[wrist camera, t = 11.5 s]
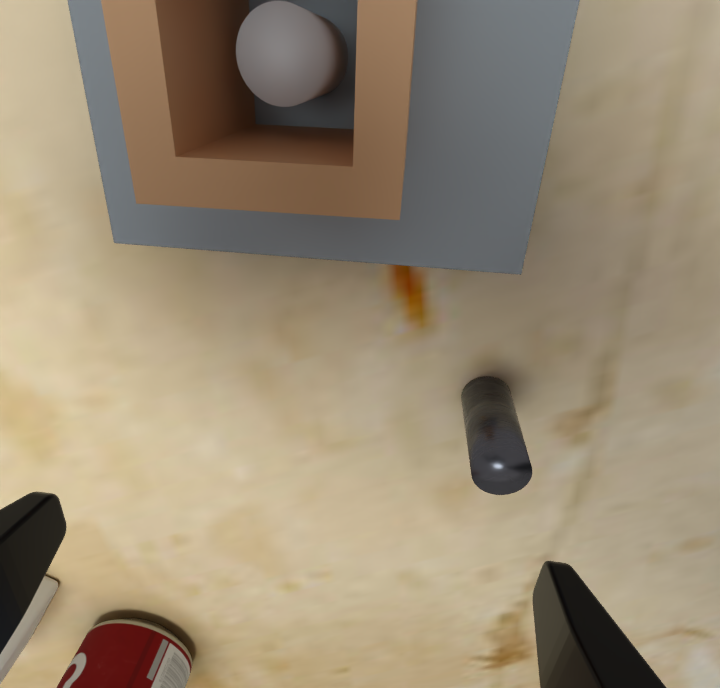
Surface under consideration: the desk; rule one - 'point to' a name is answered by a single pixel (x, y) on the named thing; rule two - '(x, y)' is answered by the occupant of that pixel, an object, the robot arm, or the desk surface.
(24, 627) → the medicine bottle
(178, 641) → the soda can
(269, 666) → the desk surface
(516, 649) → the desk surface
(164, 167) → the brown square box
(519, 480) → the dark grey cylinder
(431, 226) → the board
